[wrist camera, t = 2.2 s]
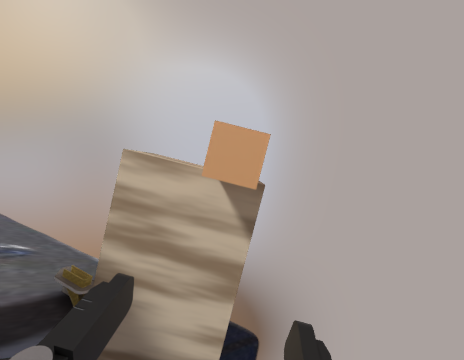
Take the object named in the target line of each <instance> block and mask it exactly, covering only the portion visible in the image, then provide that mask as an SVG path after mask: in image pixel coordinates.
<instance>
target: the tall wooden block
mask: <svg viewBox="0 0 464 360" xmlns="http://www.w3.org/2000/svg"><path fill="white" fill-rule="evenodd" d="M203 167H204V166H201V165H197V164H193V163H189V162H185V161H181V160H177V159H174V158H169V157H166V156H162V155H158V154H153V153H147V152H140V151H134V150H127V149H123V152H122V157H121V162H120V166H119V171H118V175H117V180H116V184H115V189H114V193H113V198H112V203H111V207H110V212H109V217H108V221H107V225H106V230H105V234H104V239H103V244H102V248H101V253H100V257H99V262H98V266H97V271H96V276H95V280H94V285H93V287H95V286H96V285H98V284H100V283H101V282H103V281H104V282H108V283H109V282H110V281H111V280H112V278H113V277H114V276H115V275H116V274H117V273H122V274H126V275H129V276H133V277H134V290H133V301H132V305H131V307H130V310H129V311H128V313H127V315H126V316H125V318H124V319H123V321H122V322H121V324H120V325H119V327H118V329H117V330H116V332H115V333H114V335H113V336H112V338H111V339H110V341H109V342H108V344H107V345H106V347H105V348H104V350H103V351H102V353H101V354H100V356H99V357H98V359H97V360H219V358H220V355H221V351H222V347H223V343H224V339H225V336H226V332H227V328H228V324H229V320H230V317H231V313H232V309H233V305H234V302H235V298H236V294H237V290H238V286H239V282H240V279H241V275H242V271H243V267H244V264H245V260H246V256H247V252H248V249H249V244H250V241H251V237H252V233H253V230H254V226H255V222H256V218H257V214H258V211H259V207H260V203H261V199H262V195H263V191H264V188H265V185H264V184H263V183H262V182H260V181H258V185H257V188H256V190H255V189H251V188H247V187H243V186H239V185H235V184H232V183H228V182H224V181H220V180H216V179H212V178H208V177H204V176H202V172H203Z"/></svg>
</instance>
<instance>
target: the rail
mask: <svg viewBox="0 0 464 360" xmlns="http://www.w3.org/2000/svg"><path fill="white" fill-rule="evenodd" d="M270 135H271V134H267V133H263V132H259V131H255V130H251V129H247V128H243V127H239V126H235V125H231V124H227V123H224V122H219V121H215V123H214V127H213V131H212V135H211V139H210V143H209V147H208V151H207V155H206V159H205V163H204V167H203V172H202V176H204V177H208V178H212V179H216V180H220V181H224V182H228V183H232V184H235V185H239V186H243V187H247V188H251V189H255V190H256V188H257V185H258V181H259V177H260V173H261V169H262V165H263V161H264V158H265V154H266V150H267V146H268V142H269V139H270Z"/></svg>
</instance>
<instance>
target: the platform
mask: <svg viewBox="0 0 464 360" xmlns="http://www.w3.org/2000/svg"><path fill="white" fill-rule="evenodd" d="M92 277H93V276H91V275H89V274H87V273H86V272H84V271H82V270H80V269H78V268H77V267H75V266H73V265H72V268H71V267H65V268H62V269H60V271H59V272H58V273H57V274H56V276H55V278H54V280H55V281H57V282H58V283H60V284H62V285H63V288H62V292H63V293H65V294H67V295H68V296H70V299H71V301H72V304H73V307H75V305H76V304H77V303H78V302H79V301H80V300H82V298H83V297H84V296H85V295H86V294H87V293H88V291H89V290H90V289H91V288H93V285H94V280H92Z"/></svg>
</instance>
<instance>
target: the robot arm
mask: <svg viewBox="0 0 464 360" xmlns="http://www.w3.org/2000/svg"><path fill="white" fill-rule="evenodd" d="M133 290H134V277H133V276H129V275H126V274H122V273H117V274H116V275H115V276H114V277H113V278H112V280H111V281H110V282H109V283H108V282H104V281H103V282H101V283H100V284H98V285H96V286H95V287H93V288H91V289H90V290H89V291H88V293H87V294H86V295H85V296H84V297H83V298H82V300H80V301H79V302H78V303H77V304H76V305H75V307H74V308H72V309H71V310H70V311H69V313H68V314H67V315H66V316H65V317H64V318H63V319H62V320H61V321H60V322H59V323H58V324H57V325H56V326H55V327H54V328H53V329H52V330H51V331H50V333H49V334H48V335H47V336H46V337H45V338H44V339H43V340H42V341H41V342H40V343H39V344H37V345H36V346H33V347H30V348H27V349H25V350H23V351H21V352H19V353H17V354H16V355H15V356H13V357H11V358H5V359H0V360H97V359H98V357H99V356H100V354H101V353H102V351H103V350H104V348H105V347H106V345H107V344H108V342H109V341H110V339H111V338H112V336H113V335H114V333H115V332H116V330H117V329H118V327H119V325H120V324H121V322H122V321H123V319H124V318H125V316H126V315H127V313H128V311H129V310H130V307H131V305H132V301H133ZM284 360H332V359H331V355H330V353H329V351H328V350H327V348H326V346H325V345H324V343H323V341H320V340H316V339H315V335H314V330H313V327H312V325H311V324H307V323H303V322H299V321H294V322H293V325H292V327H291V330H290V333H289V335H288V338H287V340H286V343H285V348H284Z"/></svg>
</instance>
